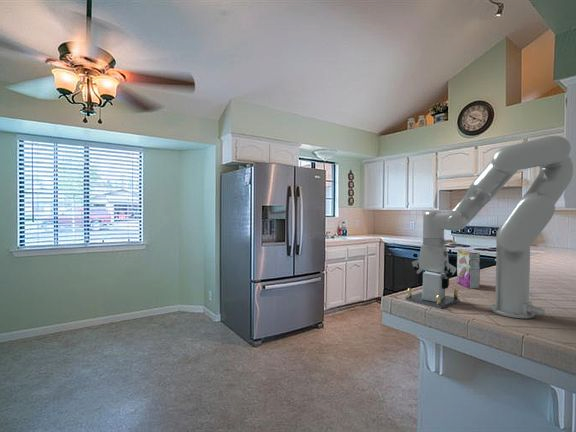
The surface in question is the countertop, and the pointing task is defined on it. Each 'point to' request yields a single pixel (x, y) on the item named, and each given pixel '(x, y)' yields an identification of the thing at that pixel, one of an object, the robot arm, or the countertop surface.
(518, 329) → the countertop surface
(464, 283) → the candy bar box
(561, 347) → the countertop surface
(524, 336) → the countertop surface
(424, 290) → the skincare box
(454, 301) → the chassis
